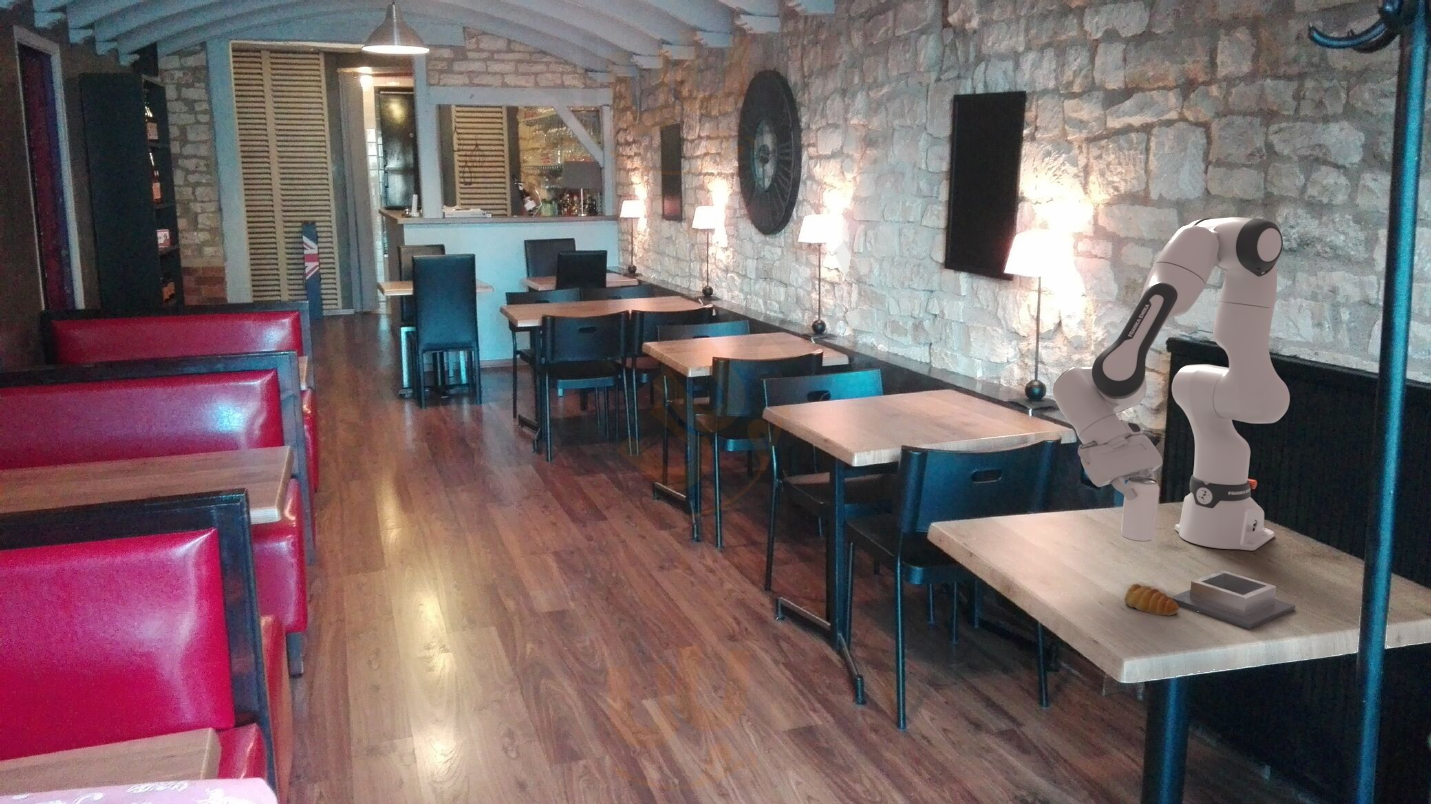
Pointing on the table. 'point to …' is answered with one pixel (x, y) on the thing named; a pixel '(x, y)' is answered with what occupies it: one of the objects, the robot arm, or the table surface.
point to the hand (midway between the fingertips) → (1144, 494)
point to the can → (1140, 510)
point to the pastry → (1150, 600)
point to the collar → (1234, 599)
